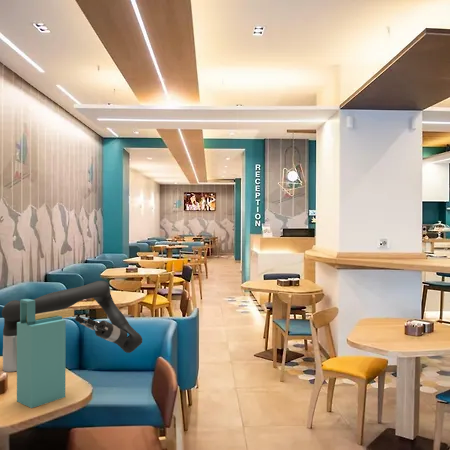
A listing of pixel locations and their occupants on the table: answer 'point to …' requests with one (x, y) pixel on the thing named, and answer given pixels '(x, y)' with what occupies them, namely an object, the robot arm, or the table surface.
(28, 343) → the teal brick phone
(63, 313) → the wooden bar
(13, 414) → the table surface
